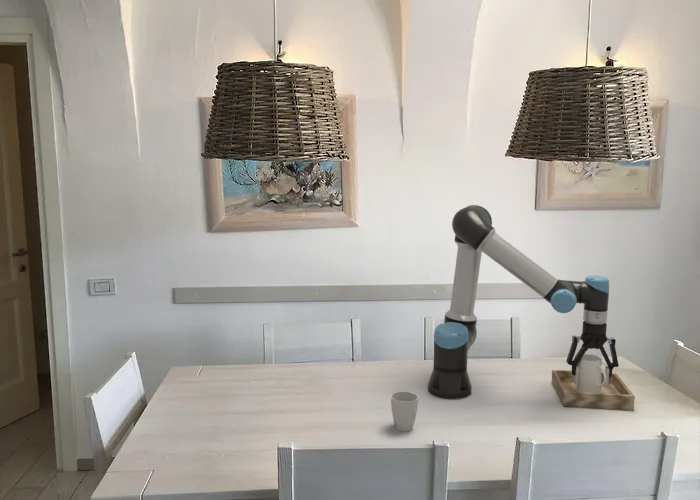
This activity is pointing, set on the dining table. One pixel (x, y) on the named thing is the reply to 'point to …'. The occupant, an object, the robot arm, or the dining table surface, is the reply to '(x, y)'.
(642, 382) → the dining table surface
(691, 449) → the dining table surface
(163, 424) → the dining table surface
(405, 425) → the cup
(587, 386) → the mug
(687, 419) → the dining table surface
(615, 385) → the tray
